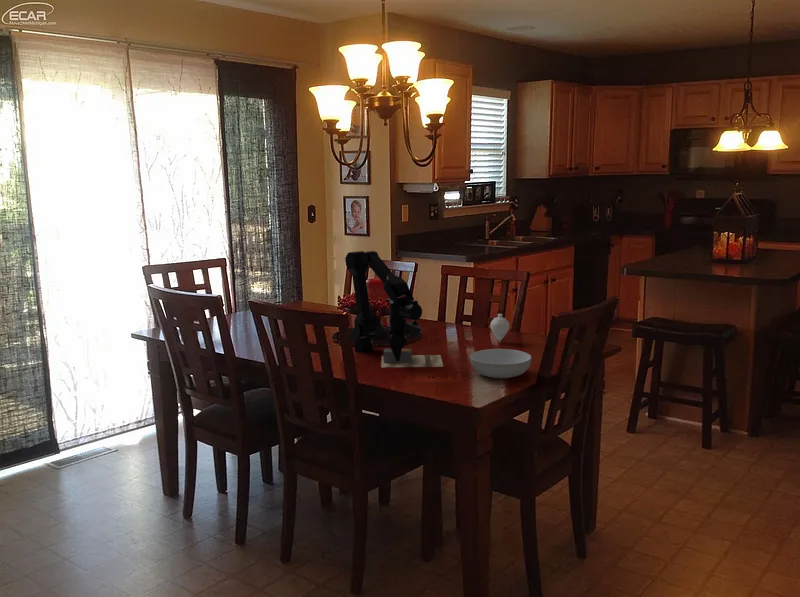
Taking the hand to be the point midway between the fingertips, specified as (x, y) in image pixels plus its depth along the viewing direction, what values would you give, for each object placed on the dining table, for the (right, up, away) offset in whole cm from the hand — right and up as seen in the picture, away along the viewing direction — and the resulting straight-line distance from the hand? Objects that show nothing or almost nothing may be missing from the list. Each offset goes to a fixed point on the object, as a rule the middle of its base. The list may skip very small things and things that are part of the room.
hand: (397, 358), depth 262 cm
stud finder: (0, -1, 0) cm, 1 cm away
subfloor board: (+5, -2, +1) cm, 6 cm away
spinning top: (+41, +3, +33) cm, 53 cm away
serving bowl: (+35, -5, -13) cm, 38 cm away
